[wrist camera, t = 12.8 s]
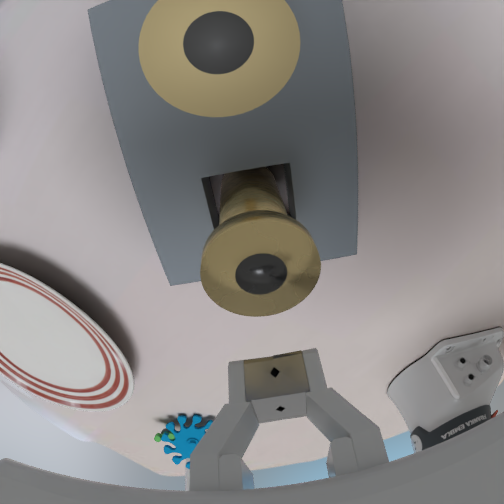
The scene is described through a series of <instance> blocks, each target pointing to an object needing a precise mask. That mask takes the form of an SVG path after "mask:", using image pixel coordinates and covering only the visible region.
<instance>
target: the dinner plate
mask: <svg viewBox="0 0 504 504" xmlns="http://www.w3.org/2000/svg"><path fill="white" fill-rule="evenodd" d="M0 374H1V375H2V376H4V377H5V378H6V379H8V380H9V381H11V382H12V383H14V384H15V385H17V386H18V387H20V388H22V389H23V390H25V391H27V392H28V393H30V394H32V395H34V396H36V397H38V398H41V399H43V400H45V401H48V402H50V403H53V404H56V405H59V406H62V407H66V408H70V409H75V410H81V411H92V412H99V411H108V410H112V409H116V408H118V407H120V406H122V405H124V404H125V403H126V402H127V401H128V400H129V399H130V397H131V396H132V393H133V390H134V378H133V374H132V371H131V368H130V366H129V364H128V362H127V360H126V358H125V356H124V355H123V353H122V352H121V350H120V349H119V348H118V346H117V345H116V344H115V342H114V341H113V340H112V339H111V338H110V337H109V336H108V334H107V333H106V332H105V331H104V330H103V329H102V328H101V327H100V326H99V325H98V324H97V323H96V322H95V321H94V320H92V319H91V318H90V317H89V316H88V315H87V314H86V313H85V312H83V311H82V310H81V309H80V308H79V307H77V306H76V305H75V304H73V303H72V302H71V301H69V300H68V299H67V298H66V297H64V296H63V295H61V294H60V293H58V292H57V291H55V290H54V289H52V288H51V287H49V286H48V285H46V284H44V283H43V282H41V281H39V280H37V279H35V278H34V277H32V276H30V275H28V274H26V273H24V272H22V271H20V270H18V269H15V268H13V267H10V266H8V265H4V264H2V263H0Z"/></svg>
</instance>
